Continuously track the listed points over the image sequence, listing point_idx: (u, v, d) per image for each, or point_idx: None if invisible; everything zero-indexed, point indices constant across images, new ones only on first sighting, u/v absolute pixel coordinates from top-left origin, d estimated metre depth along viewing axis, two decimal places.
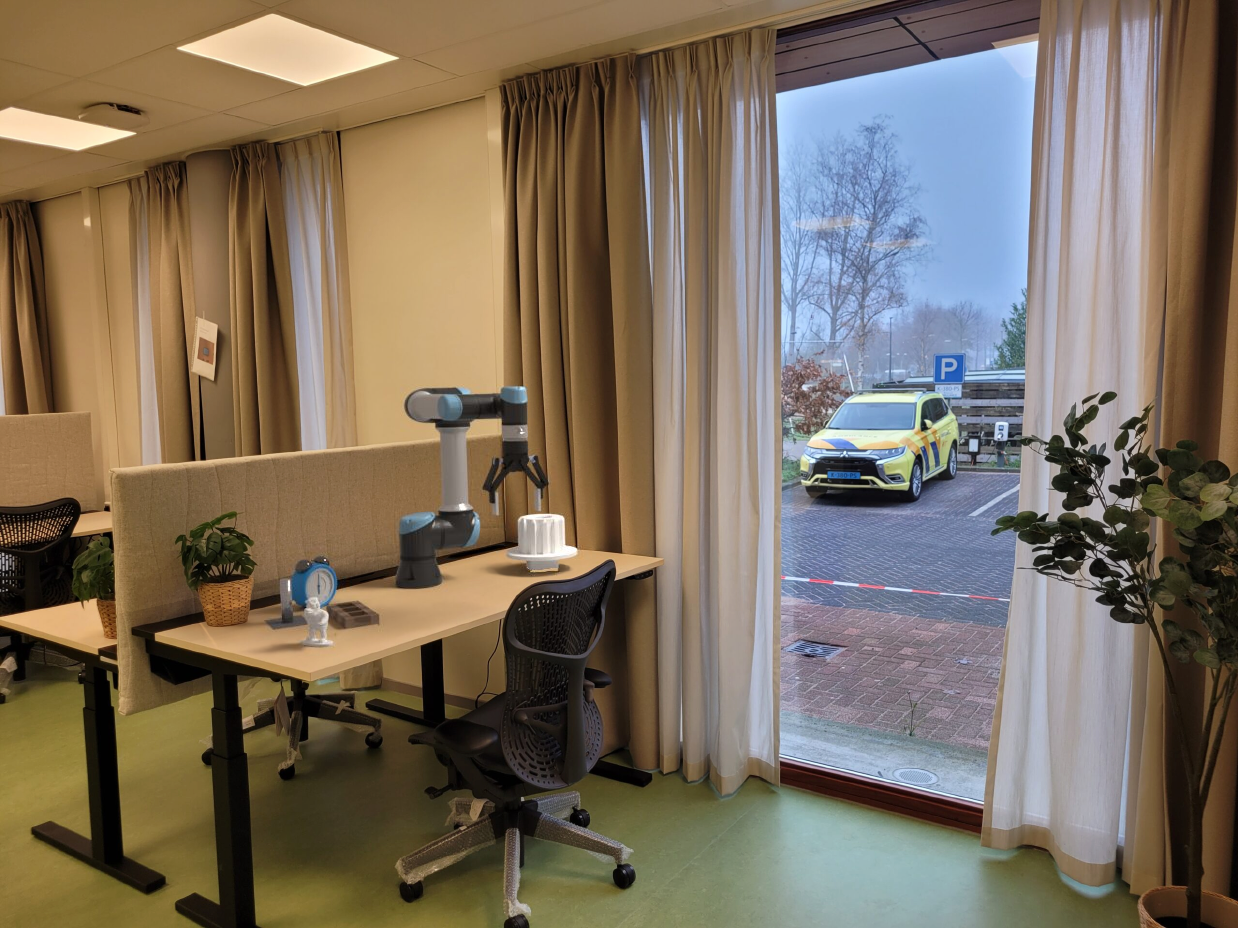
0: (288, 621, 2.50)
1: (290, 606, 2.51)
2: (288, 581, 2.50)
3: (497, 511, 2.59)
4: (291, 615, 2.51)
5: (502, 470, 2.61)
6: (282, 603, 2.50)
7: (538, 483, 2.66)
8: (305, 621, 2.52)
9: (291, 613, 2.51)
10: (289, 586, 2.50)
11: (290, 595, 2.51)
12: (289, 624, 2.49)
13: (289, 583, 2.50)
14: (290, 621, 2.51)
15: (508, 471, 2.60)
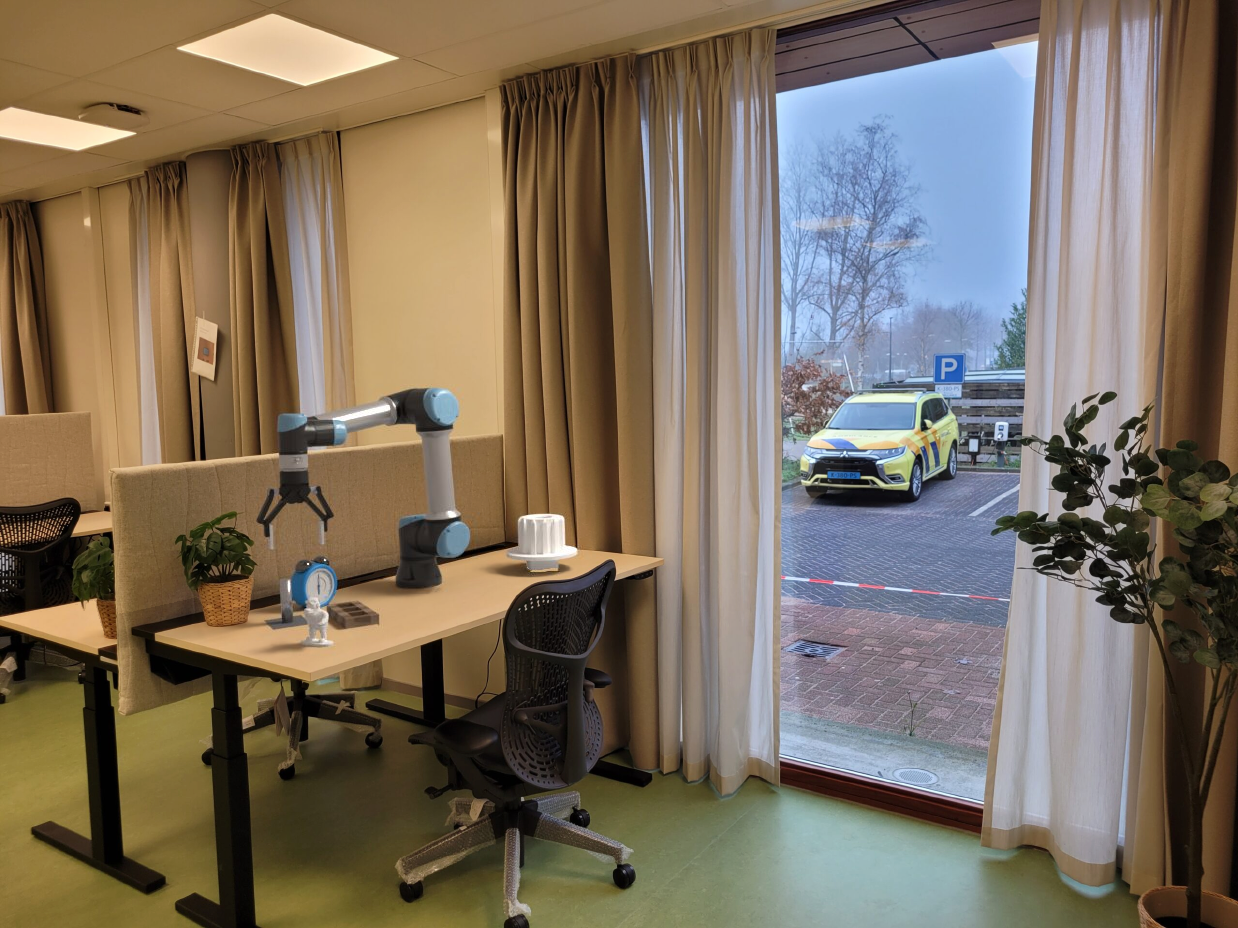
0: (288, 621, 2.50)
1: (290, 606, 2.51)
2: (288, 581, 2.50)
3: (272, 545, 2.46)
4: (291, 615, 2.51)
5: (279, 502, 2.48)
6: (282, 603, 2.50)
7: (321, 515, 2.53)
8: (305, 621, 2.52)
9: (291, 613, 2.51)
10: (289, 586, 2.50)
11: (290, 595, 2.51)
12: (289, 624, 2.49)
13: (289, 583, 2.50)
14: (290, 621, 2.51)
15: (284, 503, 2.46)
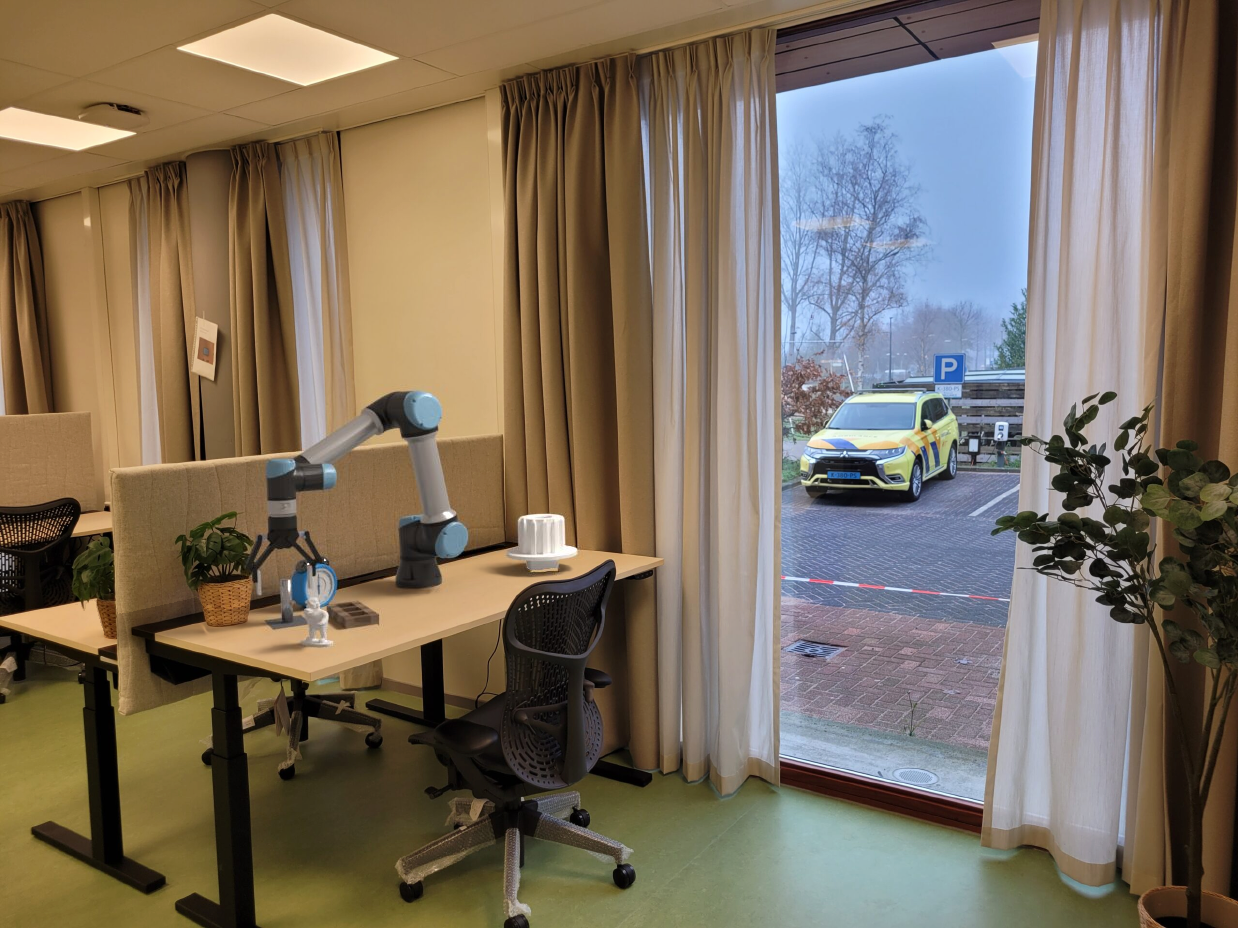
0: (288, 621, 2.50)
1: (290, 606, 2.51)
2: (288, 581, 2.50)
3: (260, 591, 2.46)
4: (291, 615, 2.51)
5: (267, 547, 2.48)
6: (282, 603, 2.50)
7: (309, 560, 2.53)
8: (305, 621, 2.52)
9: (291, 613, 2.51)
10: (289, 586, 2.50)
11: (290, 595, 2.51)
12: (289, 624, 2.49)
13: (289, 583, 2.50)
14: (290, 621, 2.51)
15: (272, 548, 2.47)
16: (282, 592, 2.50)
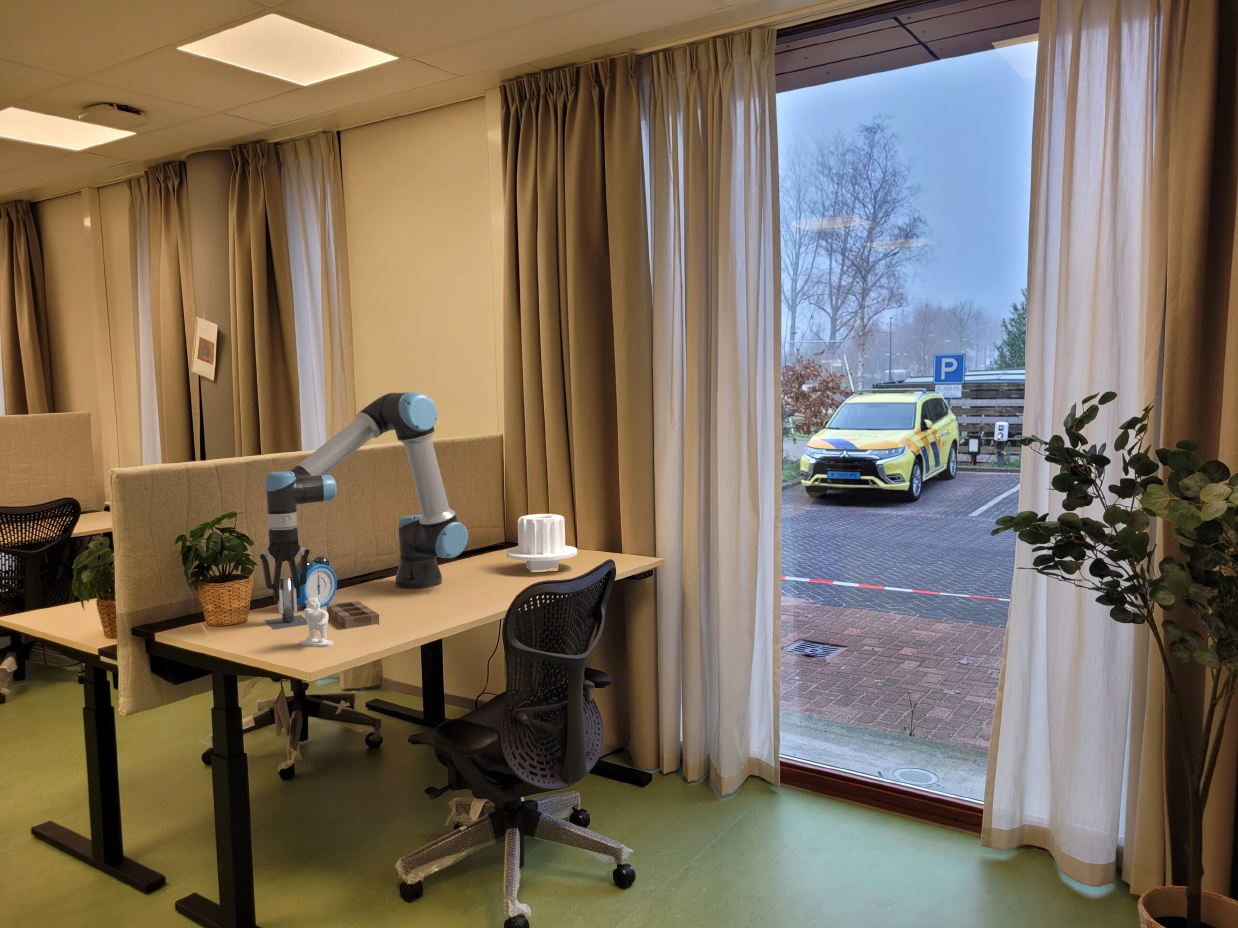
0: (289, 619, 2.51)
1: (291, 604, 2.51)
2: (288, 579, 2.50)
3: (281, 609, 2.50)
4: (292, 613, 2.51)
5: (275, 563, 2.50)
6: (283, 601, 2.50)
7: (295, 580, 2.51)
8: (305, 621, 2.52)
9: (292, 611, 2.51)
10: (290, 585, 2.50)
11: (290, 593, 2.51)
12: (289, 624, 2.49)
13: (289, 581, 2.50)
14: (291, 619, 2.51)
15: (280, 563, 2.48)
16: (282, 590, 2.50)
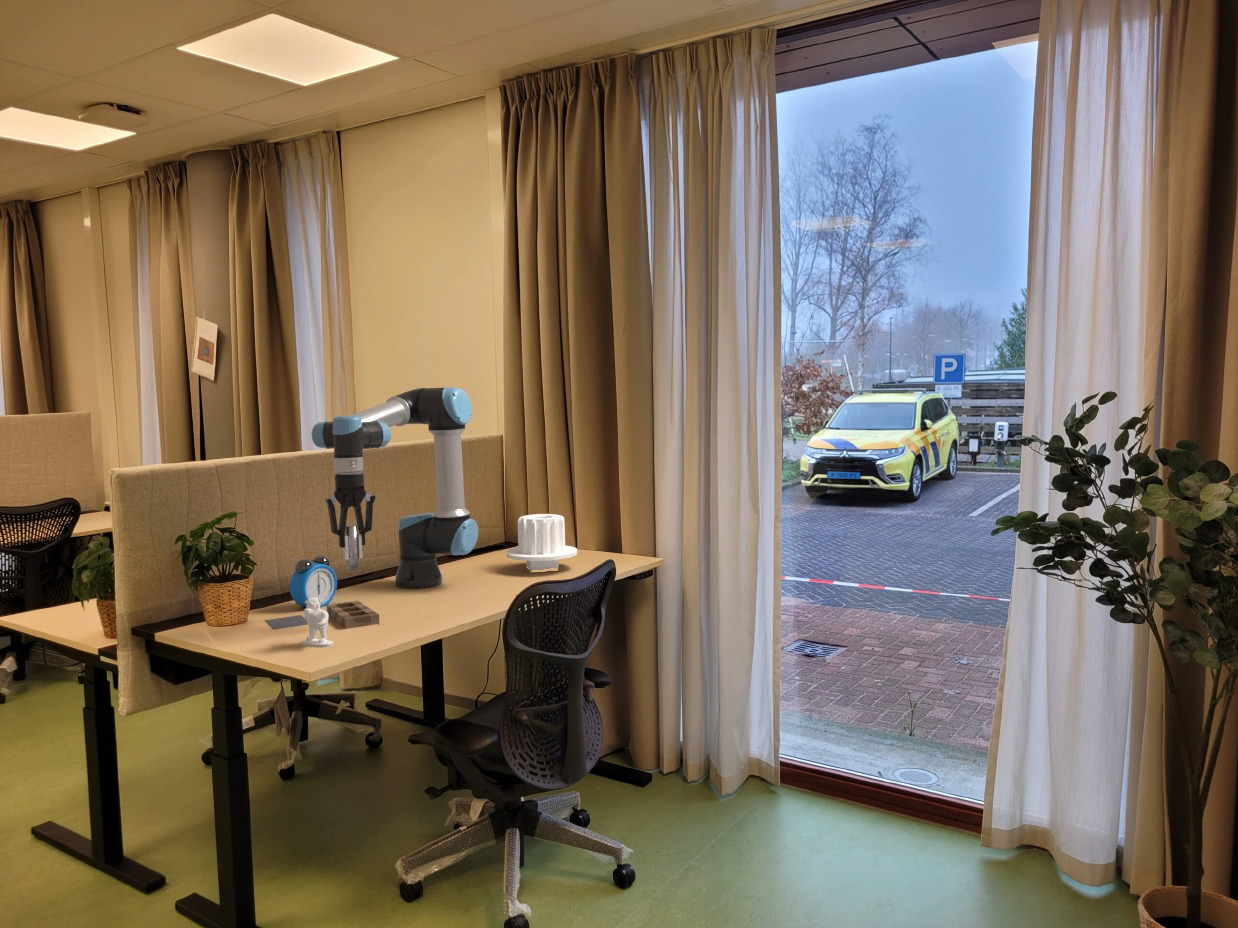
0: (354, 568, 2.47)
1: (356, 553, 2.47)
2: (354, 527, 2.46)
3: (347, 555, 2.46)
4: (357, 562, 2.47)
5: (341, 509, 2.46)
6: None
7: (361, 527, 2.47)
8: (305, 621, 2.52)
9: (357, 560, 2.47)
10: (355, 533, 2.47)
11: (356, 542, 2.47)
12: (289, 624, 2.49)
13: (355, 529, 2.47)
14: (356, 568, 2.47)
15: (346, 508, 2.44)
16: (348, 538, 2.46)
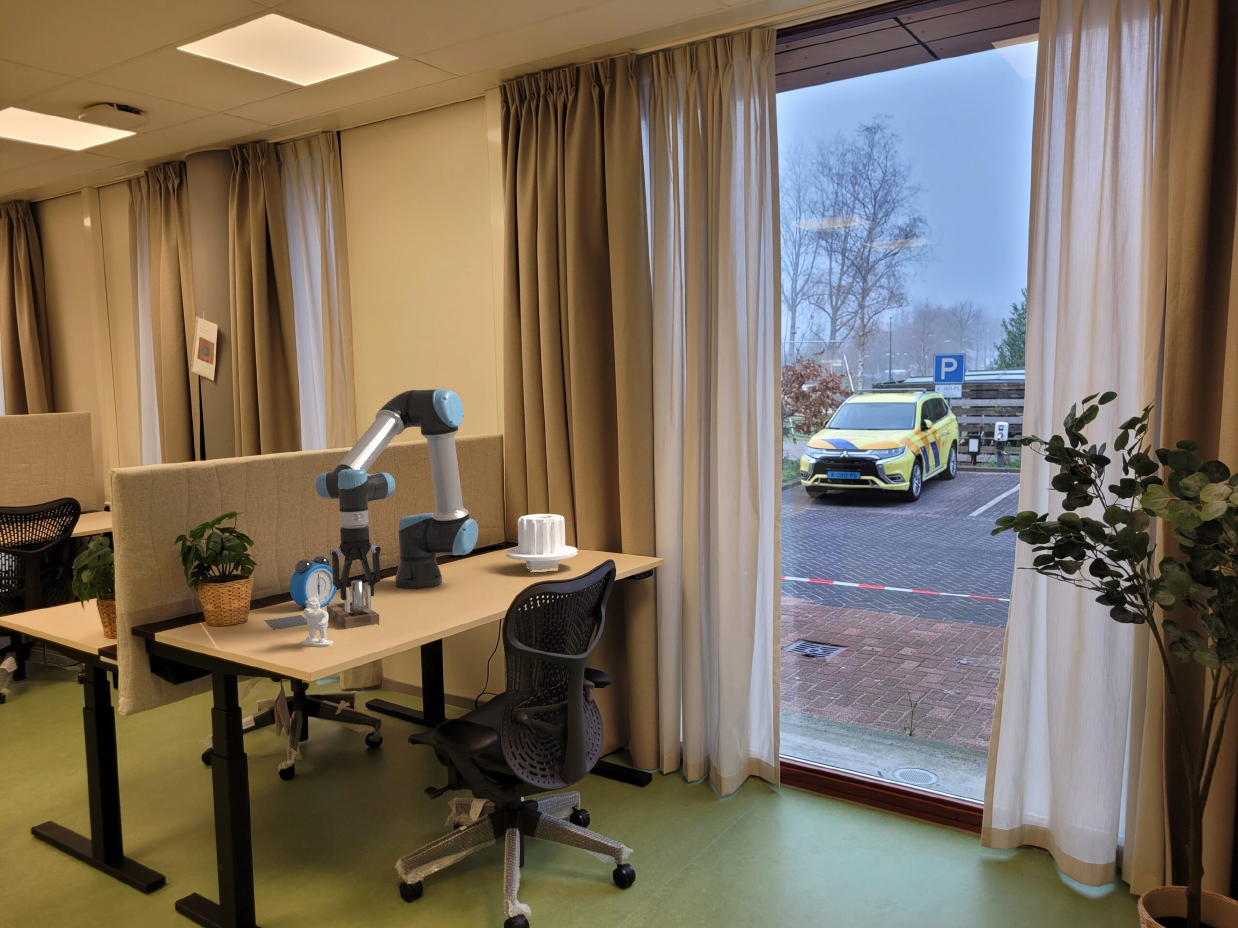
0: None
1: (361, 608, 2.48)
2: (360, 583, 2.48)
3: (348, 608, 2.46)
4: None
5: (345, 561, 2.47)
6: (354, 605, 2.48)
7: (369, 578, 2.49)
8: (305, 621, 2.52)
9: None
10: (361, 588, 2.48)
11: (362, 597, 2.48)
12: (289, 624, 2.49)
13: (361, 585, 2.48)
14: None
15: (350, 561, 2.45)
16: (354, 594, 2.47)
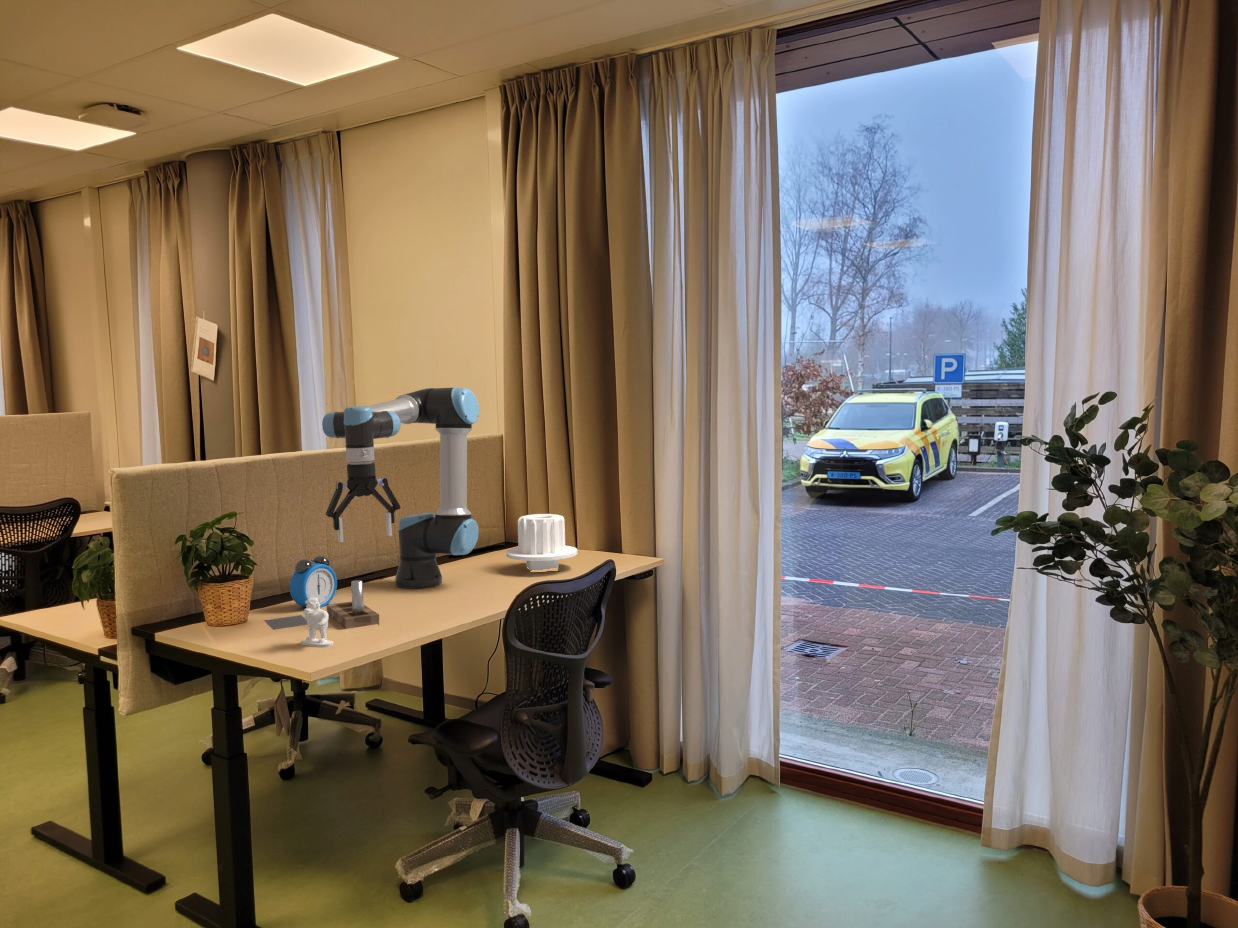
0: None
1: (361, 608, 2.48)
2: (360, 583, 2.47)
3: (342, 538, 2.47)
4: None
5: (347, 495, 2.49)
6: (353, 605, 2.48)
7: (388, 507, 2.54)
8: (305, 621, 2.52)
9: None
10: (361, 588, 2.48)
11: (361, 597, 2.48)
12: (289, 624, 2.49)
13: (361, 585, 2.48)
14: None
15: (353, 496, 2.48)
16: (353, 594, 2.47)
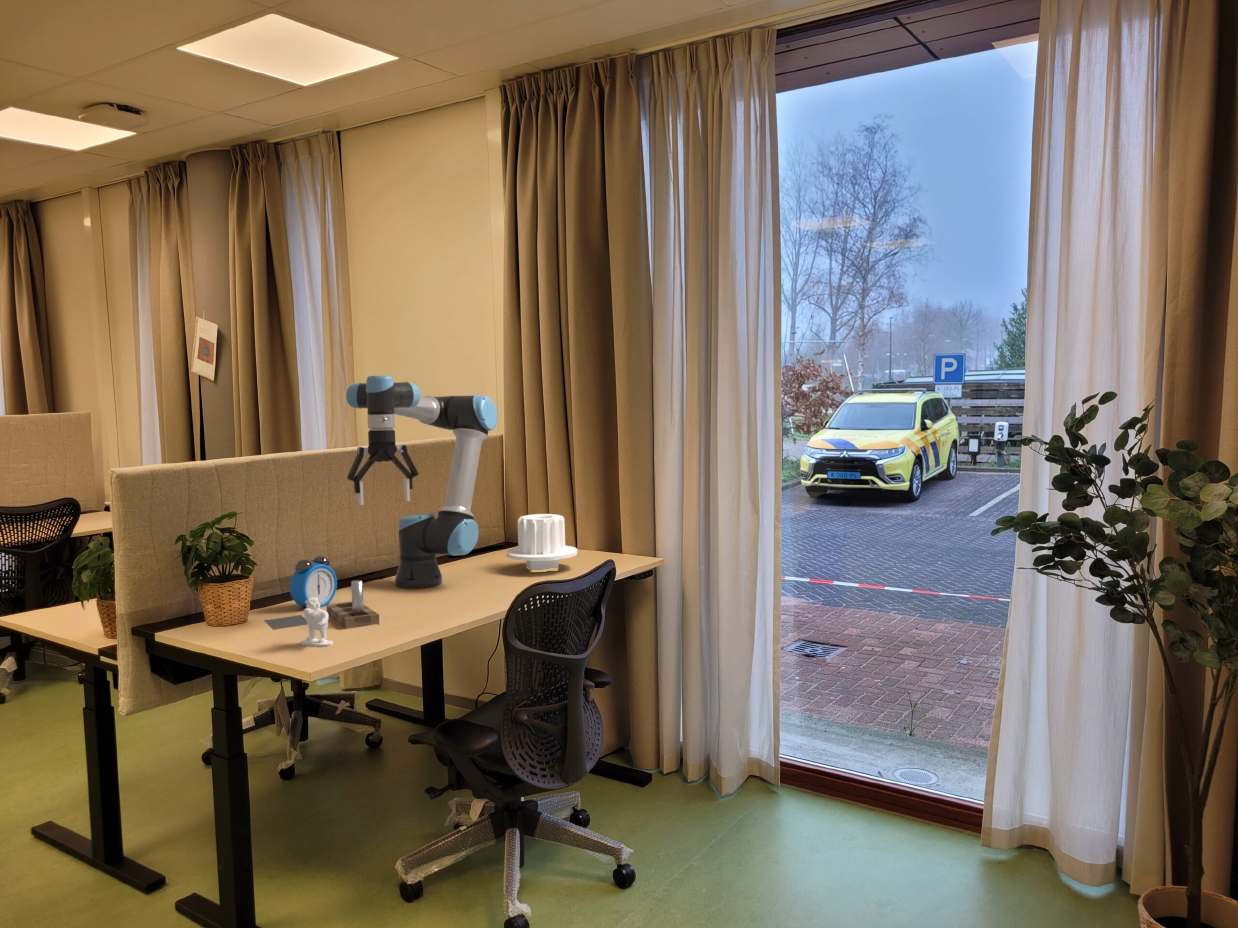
0: None
1: (361, 608, 2.48)
2: (360, 583, 2.47)
3: (362, 501, 2.58)
4: None
5: (368, 460, 2.60)
6: (353, 605, 2.48)
7: (407, 473, 2.64)
8: (305, 621, 2.52)
9: None
10: (361, 588, 2.48)
11: (361, 597, 2.48)
12: (289, 624, 2.49)
13: (361, 585, 2.48)
14: None
15: (373, 461, 2.58)
16: (353, 594, 2.47)
